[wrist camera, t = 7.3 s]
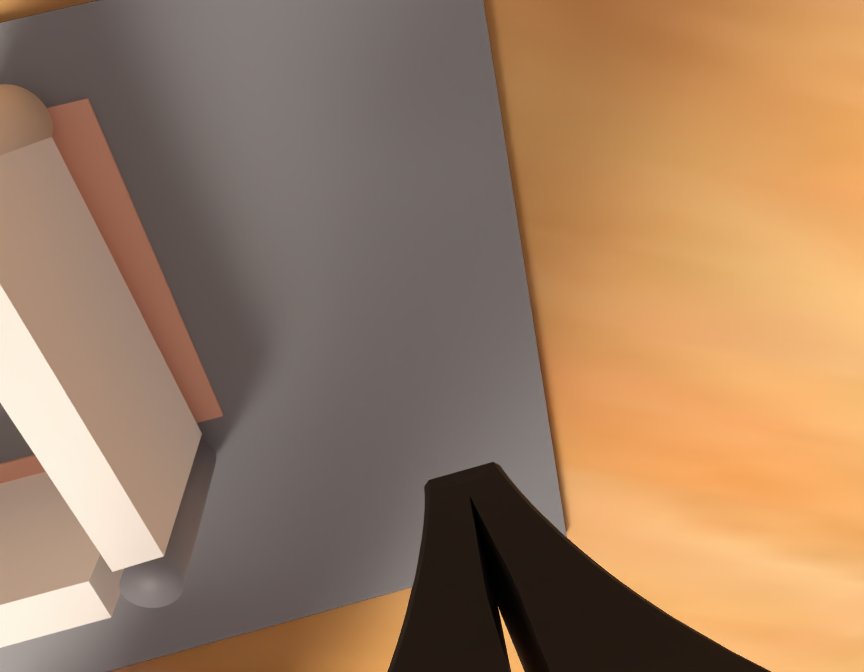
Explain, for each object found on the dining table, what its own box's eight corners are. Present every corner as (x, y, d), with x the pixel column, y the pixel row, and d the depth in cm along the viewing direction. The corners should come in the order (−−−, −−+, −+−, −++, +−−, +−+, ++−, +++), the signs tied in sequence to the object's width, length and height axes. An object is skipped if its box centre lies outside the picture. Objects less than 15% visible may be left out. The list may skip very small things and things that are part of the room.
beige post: (226, 468, 20) (194, 609, 15) (175, 483, 20) (126, 630, 15) (30, 75, 15) (-117, 94, 10) (-39, 95, 14) (-221, 124, 10)
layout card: (-22, 698, 23) (-29, 711, 23) (-487, 137, 14) (-513, 139, 14) (564, 536, 24) (568, 545, 24) (466, -83, 15) (470, -87, 15)
